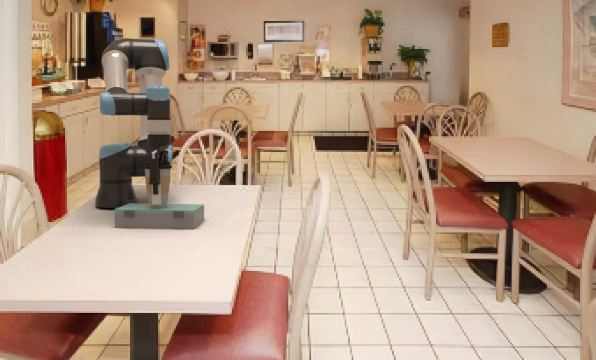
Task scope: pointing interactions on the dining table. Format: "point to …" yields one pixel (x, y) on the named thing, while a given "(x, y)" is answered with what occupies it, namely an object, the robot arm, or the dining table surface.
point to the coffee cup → (164, 183)
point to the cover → (159, 209)
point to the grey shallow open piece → (159, 220)
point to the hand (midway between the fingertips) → (160, 202)
